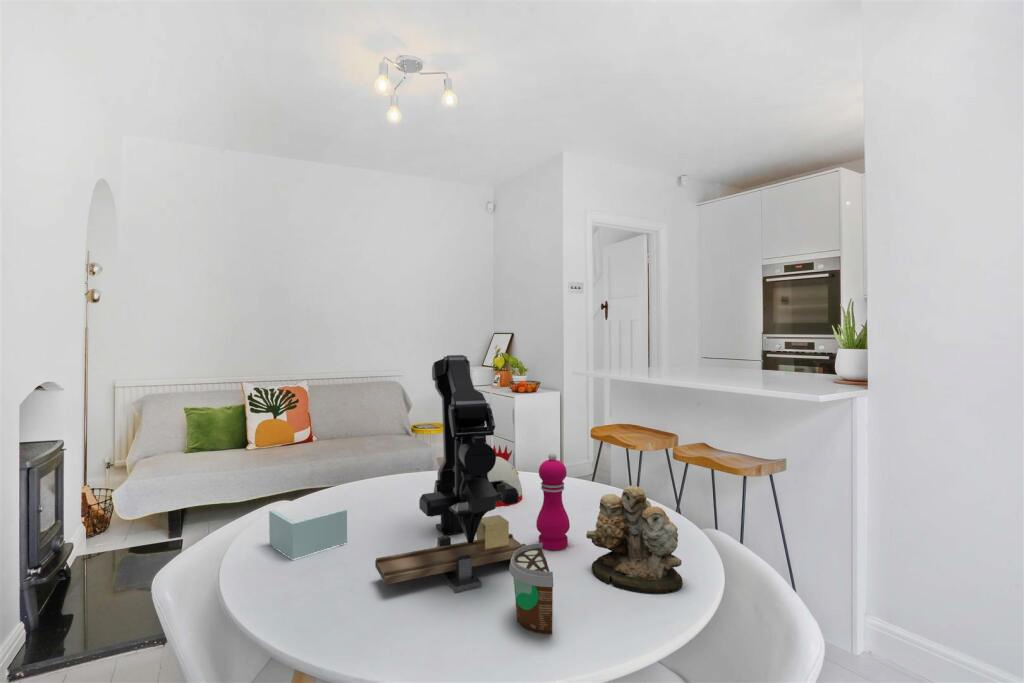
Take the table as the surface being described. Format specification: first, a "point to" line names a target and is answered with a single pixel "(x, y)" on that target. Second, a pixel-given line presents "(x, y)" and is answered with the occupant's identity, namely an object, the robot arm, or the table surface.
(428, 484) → the table surface
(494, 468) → the kitchen timer
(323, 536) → the right angle wall
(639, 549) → the owl figurine
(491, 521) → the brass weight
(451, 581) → the stand
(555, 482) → the pepper mill
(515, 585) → the food container
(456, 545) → the balance beam
